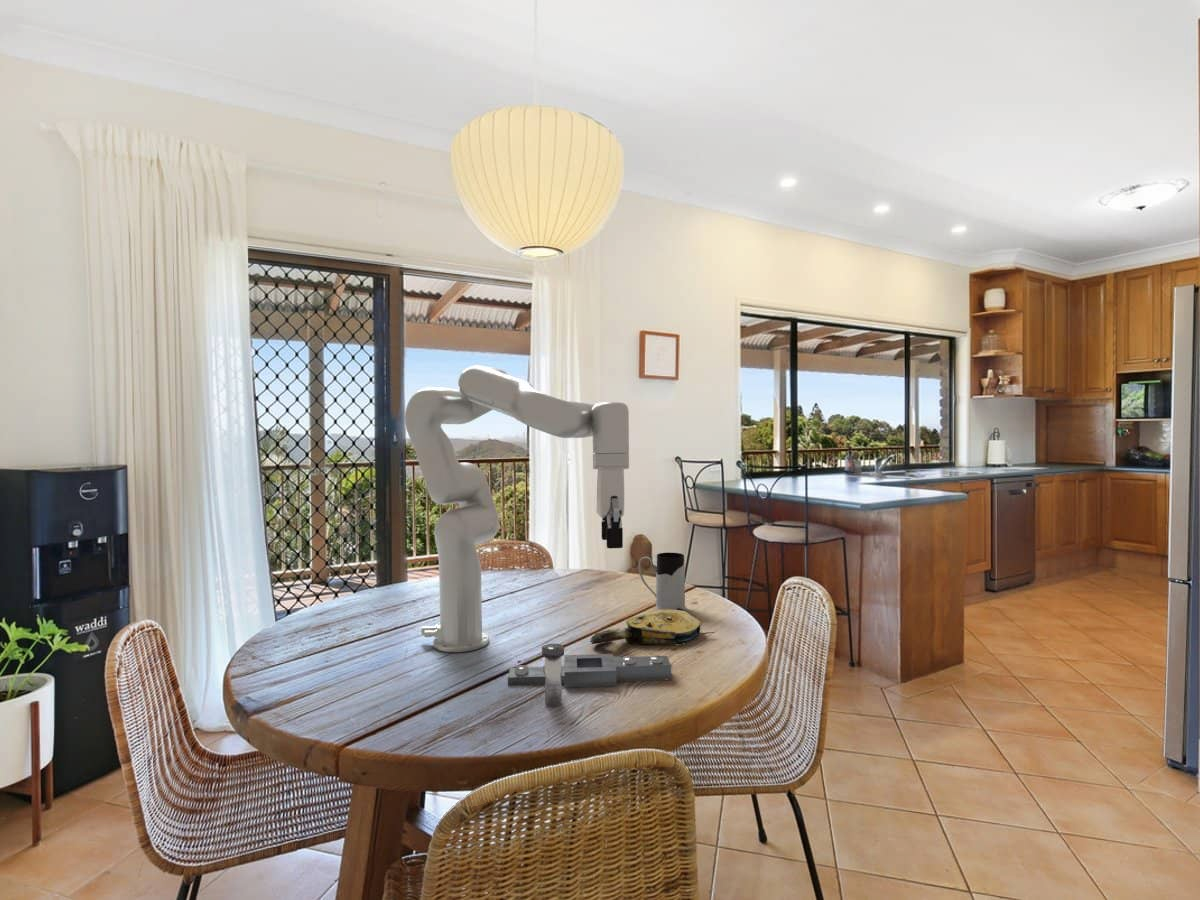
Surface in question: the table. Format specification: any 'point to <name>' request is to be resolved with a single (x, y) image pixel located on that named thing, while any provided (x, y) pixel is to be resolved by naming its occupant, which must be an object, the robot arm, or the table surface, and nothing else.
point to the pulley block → (656, 629)
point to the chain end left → (537, 676)
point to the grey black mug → (668, 581)
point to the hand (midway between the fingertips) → (611, 543)
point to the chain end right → (617, 667)
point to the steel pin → (553, 674)
